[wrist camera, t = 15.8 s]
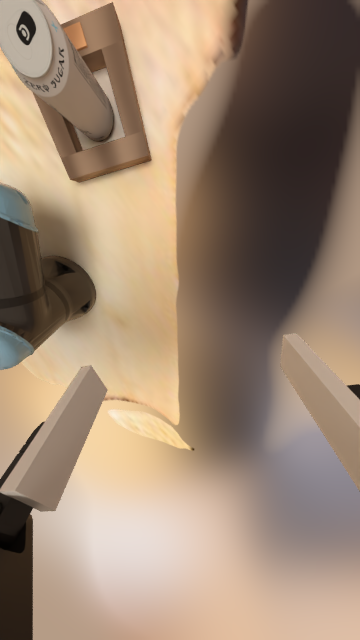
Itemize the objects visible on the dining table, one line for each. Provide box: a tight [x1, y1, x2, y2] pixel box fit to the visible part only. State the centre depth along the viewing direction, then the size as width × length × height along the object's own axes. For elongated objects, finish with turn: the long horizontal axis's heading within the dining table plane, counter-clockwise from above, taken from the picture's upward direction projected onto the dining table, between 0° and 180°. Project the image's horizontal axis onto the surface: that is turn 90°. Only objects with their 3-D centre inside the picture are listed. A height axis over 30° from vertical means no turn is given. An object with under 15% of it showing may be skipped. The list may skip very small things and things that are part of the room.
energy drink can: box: [0, 0, 113, 141], centre depth 22 cm, size 6×6×15 cm
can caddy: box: [33, 2, 151, 182], centre depth 26 cm, size 14×14×3 cm
